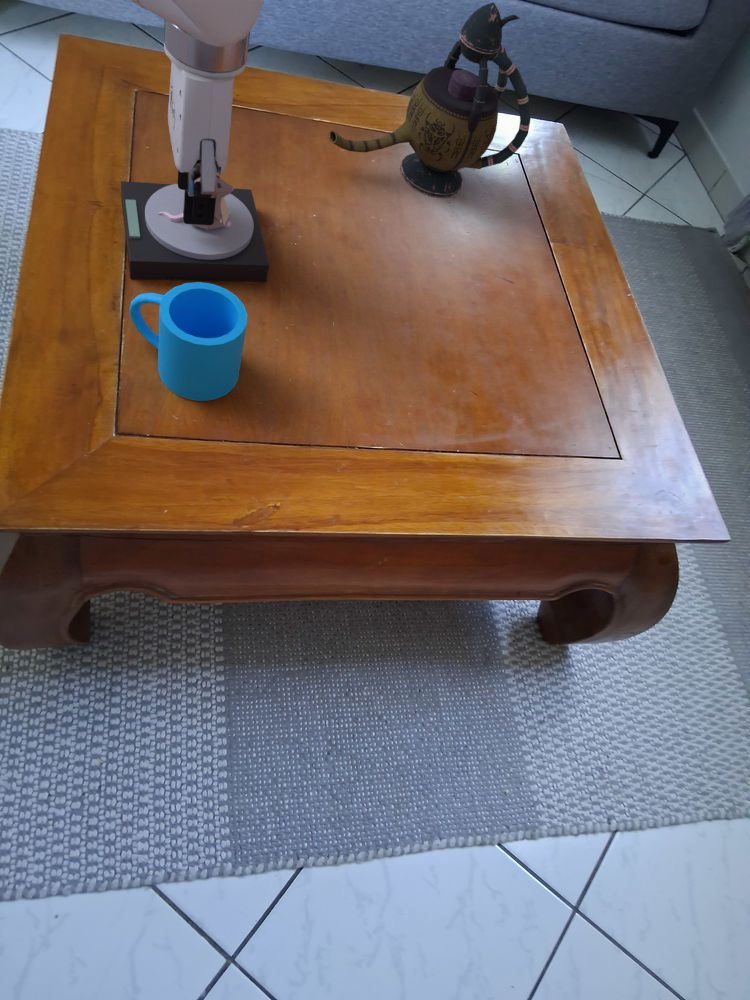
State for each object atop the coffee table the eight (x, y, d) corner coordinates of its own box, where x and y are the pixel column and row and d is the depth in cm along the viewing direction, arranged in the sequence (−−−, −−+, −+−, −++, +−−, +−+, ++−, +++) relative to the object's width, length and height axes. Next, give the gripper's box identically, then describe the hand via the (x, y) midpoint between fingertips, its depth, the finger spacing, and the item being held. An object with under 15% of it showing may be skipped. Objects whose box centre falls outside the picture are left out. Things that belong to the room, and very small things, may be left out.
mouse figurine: (156, 198, 86) (157, 144, 80) (228, 204, 88) (233, 152, 83) (159, 230, 83) (160, 176, 78) (233, 235, 86) (239, 183, 80)
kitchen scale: (130, 278, 83) (129, 255, 80) (121, 199, 89) (120, 174, 86) (266, 282, 88) (270, 259, 85) (249, 206, 94) (252, 183, 91)
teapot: (501, 206, 108) (578, 39, 89) (334, 202, 99) (380, 15, 80) (472, 151, 113) (539, -17, 94) (311, 142, 104) (349, -45, 85)
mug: (252, 363, 81) (262, 307, 74) (214, 413, 76) (220, 358, 70) (152, 312, 81) (153, 252, 74) (108, 359, 76) (104, 300, 70)
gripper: (155, -17, 72) (152, 154, 87) (174, 89, 64) (168, 258, 79) (234, -5, 75) (218, 159, 90) (262, 99, 67) (240, 260, 82)
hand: (195, 204), depth 84 cm, fingers closed on mouse figurine, 4 cm apart
